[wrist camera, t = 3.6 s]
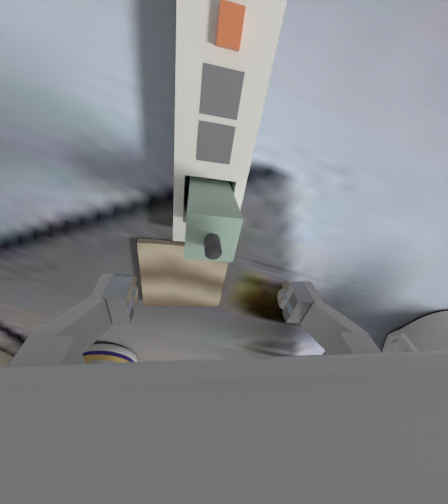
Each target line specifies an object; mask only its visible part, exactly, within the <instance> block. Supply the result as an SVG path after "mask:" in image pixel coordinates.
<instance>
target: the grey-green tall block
mask: <svg viewBox="0 0 448 504" xmlns="http://www.w3.org/2000/svg"><path fill="white" fill-rule="evenodd" d="M242 222H243V217H242V215H241V212H240V209H239V207H238V204H237V202H236V199H235V196H234V194H233V191H232V189H231V186H230V183H229V181H226V180H218V179H210V178H203V177H195V176H190V185H189V194H188V204H187V214H186V232H185V249H184V259H189V260H205V261H222V262H233V260H234V256H235V251H236V247H237V243H238V239H239V235H240V230H241V226H242Z"/></svg>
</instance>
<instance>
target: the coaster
mask: <svg viewBox="0 0 448 504" xmlns="http://www.w3.org/2000/svg"><path fill="white" fill-rule="evenodd" d="M137 248H138V257H139V267H140V276H141V285H142V294H143V303H144V305H149V306H199V307H219V303H220V298H221V294H222V289H223V285H224V280H225V276H226V271H227V267H228V262H222V261H205V260H189V259H184V249H185V242H181V241H168V240H155V239H142V238H139V239H138V241H137Z"/></svg>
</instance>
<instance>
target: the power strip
mask: <svg viewBox="0 0 448 504" xmlns="http://www.w3.org/2000/svg"><path fill="white" fill-rule="evenodd" d="M286 4H287V0H176V65H175V130H174V196H173V241H181V242H185V232H186V214H187V211H185V210H184V203H185V183H186V175H188V176H195V177H203V178H210V179H218V180H226V181H231V184H230V186H231V189H232V191H233V194H234V196H235V199H236V202H237V204H238V207H239V209H240V210H241V205H242V201H243V196H244V192H245V187H246V183H247V178H248V174H249V169H250V165H251V160H252V156H253V151H254V147H255V142H256V138H257V133H258V129H259V125H260V120H261V116H262V111H263V107H264V102H265V98H266V93H267V89H268V84H269V80H270V75H271V71H272V66H273V62H274V57H275V53H276V48H277V44H278V39H279V35H280V31H281V26H282V22H283V17H284V13H285V8H286Z"/></svg>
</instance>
